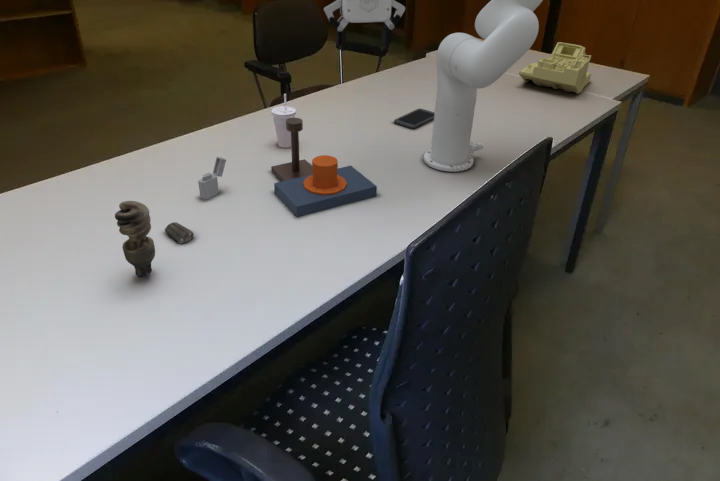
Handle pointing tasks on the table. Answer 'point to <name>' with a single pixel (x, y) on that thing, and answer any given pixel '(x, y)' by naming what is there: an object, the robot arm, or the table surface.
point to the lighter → (211, 180)
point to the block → (179, 232)
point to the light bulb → (136, 236)
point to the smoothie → (283, 123)
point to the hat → (324, 177)
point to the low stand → (309, 202)
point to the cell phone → (415, 118)
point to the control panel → (561, 69)
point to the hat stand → (293, 155)
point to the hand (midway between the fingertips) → (363, 48)
